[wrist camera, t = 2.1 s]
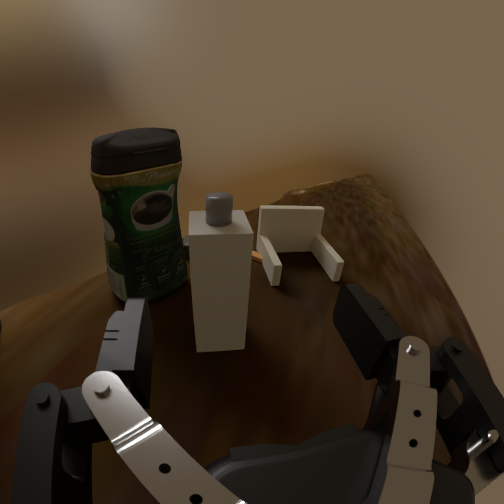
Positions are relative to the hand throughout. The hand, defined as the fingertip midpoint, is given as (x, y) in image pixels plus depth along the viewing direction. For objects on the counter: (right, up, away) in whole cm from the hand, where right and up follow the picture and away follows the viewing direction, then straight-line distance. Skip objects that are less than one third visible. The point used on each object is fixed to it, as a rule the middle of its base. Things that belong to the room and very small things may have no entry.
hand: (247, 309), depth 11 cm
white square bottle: (-3, -6, +16) cm, 17 cm away
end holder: (+6, 0, +28) cm, 29 cm away
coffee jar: (-13, -2, +22) cm, 26 cm away
